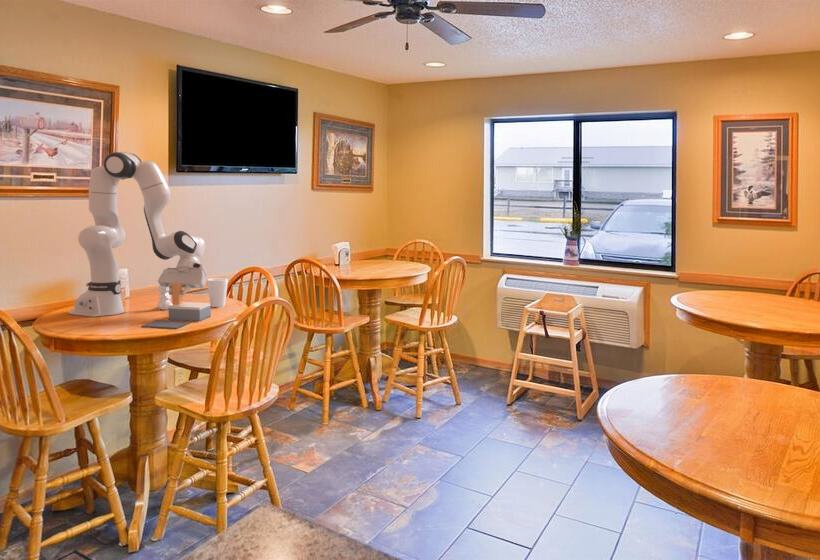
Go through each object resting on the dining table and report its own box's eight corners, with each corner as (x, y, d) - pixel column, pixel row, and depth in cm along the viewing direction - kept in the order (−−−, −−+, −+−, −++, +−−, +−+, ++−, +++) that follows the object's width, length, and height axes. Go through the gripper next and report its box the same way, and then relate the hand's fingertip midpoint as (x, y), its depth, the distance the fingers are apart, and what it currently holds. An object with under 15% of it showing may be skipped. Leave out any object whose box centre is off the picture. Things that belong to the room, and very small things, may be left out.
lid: (168, 308, 252) (167, 285, 251) (180, 303, 262) (179, 281, 261) (199, 310, 250) (198, 286, 249) (210, 305, 260) (209, 282, 259)
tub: (168, 319, 253) (168, 308, 252) (180, 315, 263) (180, 303, 262) (199, 321, 251) (199, 310, 250) (210, 316, 261) (210, 305, 260)
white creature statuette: (180, 307, 279) (179, 282, 277) (170, 311, 270) (169, 285, 268) (162, 306, 280) (160, 281, 278) (151, 310, 272) (150, 284, 270)
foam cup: (232, 306, 285) (231, 279, 283) (216, 309, 277) (216, 281, 275) (219, 303, 290) (218, 277, 288) (203, 306, 282) (202, 279, 280)
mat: (141, 327, 239) (141, 325, 239) (156, 321, 250) (156, 319, 250) (176, 329, 237) (176, 327, 237) (190, 323, 248) (190, 321, 248)
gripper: (162, 263, 262) (150, 288, 254) (206, 265, 260) (195, 291, 252) (167, 272, 267) (156, 297, 259) (211, 274, 265) (201, 299, 257)
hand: (176, 294), depth 256 cm, fingers open, 4 cm apart
